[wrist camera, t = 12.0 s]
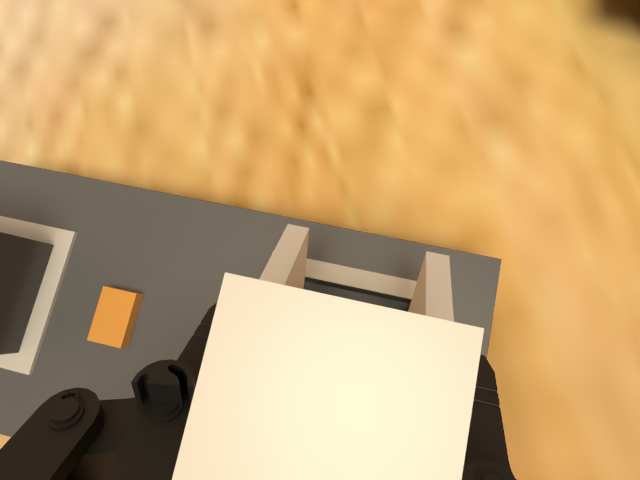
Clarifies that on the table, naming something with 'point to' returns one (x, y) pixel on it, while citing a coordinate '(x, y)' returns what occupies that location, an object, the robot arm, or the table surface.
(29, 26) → the table surface
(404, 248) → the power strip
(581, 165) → the table surface
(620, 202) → the table surface
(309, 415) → the plug
